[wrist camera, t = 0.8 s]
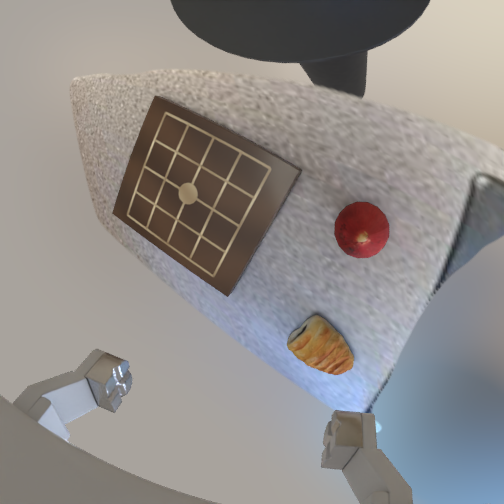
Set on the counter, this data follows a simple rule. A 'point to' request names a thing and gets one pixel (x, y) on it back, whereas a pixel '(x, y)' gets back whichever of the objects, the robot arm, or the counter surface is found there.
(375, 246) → the onion
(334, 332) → the pastry
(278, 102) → the counter surface
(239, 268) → the grid board
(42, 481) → the robot arm
